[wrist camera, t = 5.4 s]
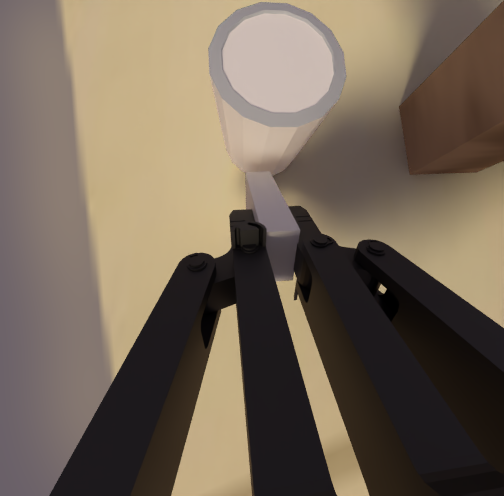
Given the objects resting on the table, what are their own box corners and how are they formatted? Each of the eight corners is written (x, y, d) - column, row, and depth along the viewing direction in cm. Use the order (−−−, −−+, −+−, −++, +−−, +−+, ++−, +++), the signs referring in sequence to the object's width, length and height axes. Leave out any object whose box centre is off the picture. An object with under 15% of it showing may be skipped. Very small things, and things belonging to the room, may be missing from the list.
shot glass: (308, 111, 19) (353, 14, 12) (299, 191, 18) (341, 138, 11) (224, 95, 18) (219, -16, 11) (210, 176, 17) (195, 111, 10)
